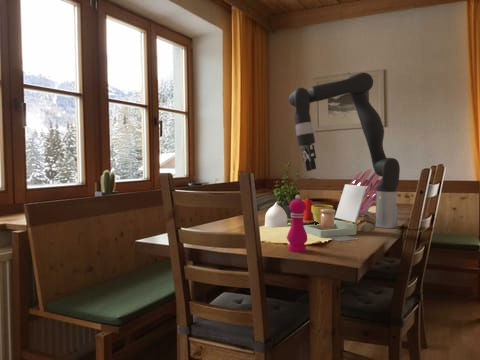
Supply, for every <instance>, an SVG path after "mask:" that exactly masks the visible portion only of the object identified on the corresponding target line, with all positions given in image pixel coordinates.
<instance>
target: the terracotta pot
mask: <svg viewBox="0 0 480 360" xmlns="http://www.w3.org/2000/svg"><path fill="white" fill-rule="evenodd" d="M320 212H321V230H331V229H334V220H335V214H336V210H335V209H334V208H333V209H320Z"/></svg>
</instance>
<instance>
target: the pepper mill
mask: <svg viewBox="0 0 480 360" xmlns="http://www.w3.org/2000/svg"><path fill="white" fill-rule="evenodd" d="M306 209H307V204H306V202H305V200H302V199H301V195H299V194H296V195H295V199H293V200H291V201H290V203H289V210H290V211H291V212H290V218H291V226H290V228H289V230H288V233H287V236H286V237H287V241H288V243H289V244H288V251H289V252H292V253H293V252H295V253H302V252H306V250H307V246H306V242H308V235H307V234H308V233H306V231H305V229H304V226H303V225H304V218H305V217H306V216H305V213H304V212H306Z"/></svg>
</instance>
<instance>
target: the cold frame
mask: <svg viewBox="0 0 480 360" xmlns="http://www.w3.org/2000/svg"><path fill="white" fill-rule="evenodd" d="M366 188H367V187H366V186H364V185H362V186H357V185H355V184H353V185H348V183H347V184H344V187H343V191H342V193H341V196H340V199H339V203H338V205H337V209H336V211H335V214H334V229H331V230H321V224H317V225H315V224H305V225H304V224H303V226H304V229H305V231H306V234H308V235H311V236H314V237H318V238H327V237H329V236H341V235H345V236H354V235H357V230H358V229H357V228H358V227H357V226H358V218H359V215H358V214H359V210H360V207H361V205H362V203H363V201H364V199H365V198H364V194H365V191H366ZM363 198H364V199H363ZM342 220H343V221H342ZM346 221H347V222H346ZM350 222H352V223H350Z"/></svg>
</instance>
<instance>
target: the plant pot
mask: <svg viewBox="0 0 480 360" xmlns="http://www.w3.org/2000/svg"><path fill="white" fill-rule="evenodd" d="M310 209H311V210H310V211H311V213H312V217H313V222H314V221H316V222H318V223H319V224H321V212H320V209H334V206H333V205H332V204H331V205H330V204H312V205H311V208H310Z"/></svg>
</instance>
